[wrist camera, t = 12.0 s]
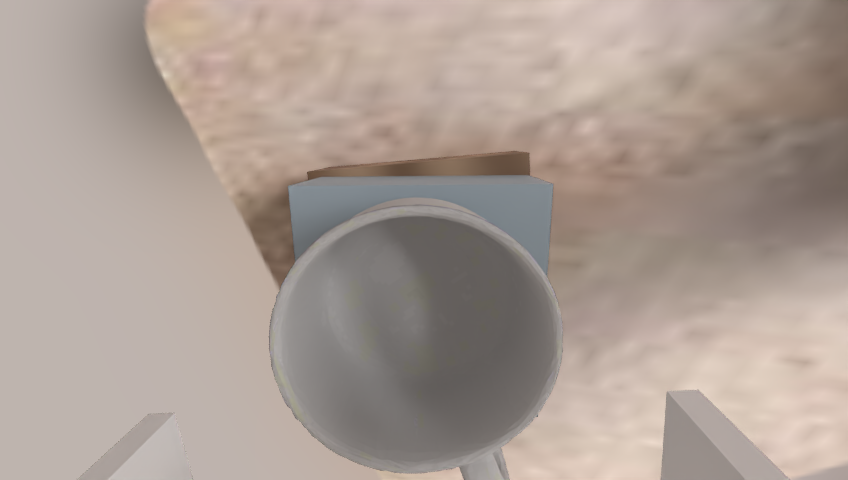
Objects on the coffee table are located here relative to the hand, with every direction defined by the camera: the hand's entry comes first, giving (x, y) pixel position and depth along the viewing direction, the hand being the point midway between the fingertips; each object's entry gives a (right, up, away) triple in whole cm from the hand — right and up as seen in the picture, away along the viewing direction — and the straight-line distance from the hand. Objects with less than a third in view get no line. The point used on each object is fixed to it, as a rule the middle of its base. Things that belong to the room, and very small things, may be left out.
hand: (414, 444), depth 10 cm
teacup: (+1, +2, +12) cm, 12 cm away
